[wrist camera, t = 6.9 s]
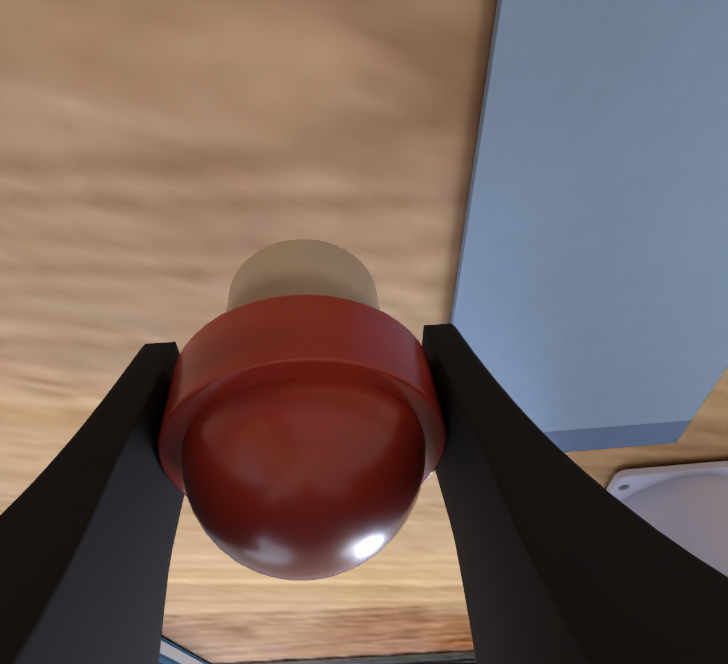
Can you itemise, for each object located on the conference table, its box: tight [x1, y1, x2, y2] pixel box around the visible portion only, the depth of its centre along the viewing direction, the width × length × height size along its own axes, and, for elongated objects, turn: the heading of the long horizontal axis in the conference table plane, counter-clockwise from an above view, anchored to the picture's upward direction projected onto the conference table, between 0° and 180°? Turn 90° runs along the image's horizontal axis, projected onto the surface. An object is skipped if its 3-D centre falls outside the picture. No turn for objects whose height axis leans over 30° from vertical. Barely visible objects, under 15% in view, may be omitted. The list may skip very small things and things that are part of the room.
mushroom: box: [158, 240, 447, 580], centre depth 10 cm, size 5×5×7 cm
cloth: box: [450, 0, 728, 452], centre depth 16 cm, size 20×11×1 cm, turn 0°
